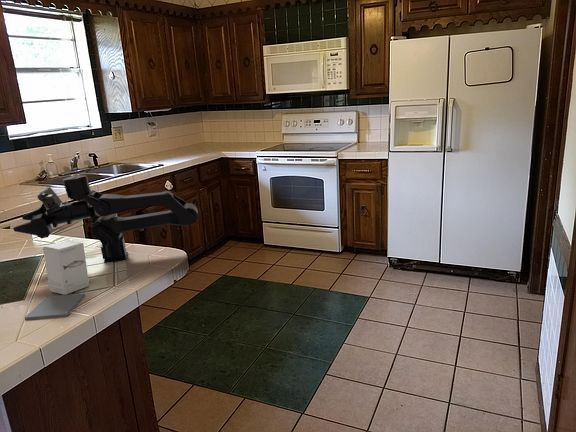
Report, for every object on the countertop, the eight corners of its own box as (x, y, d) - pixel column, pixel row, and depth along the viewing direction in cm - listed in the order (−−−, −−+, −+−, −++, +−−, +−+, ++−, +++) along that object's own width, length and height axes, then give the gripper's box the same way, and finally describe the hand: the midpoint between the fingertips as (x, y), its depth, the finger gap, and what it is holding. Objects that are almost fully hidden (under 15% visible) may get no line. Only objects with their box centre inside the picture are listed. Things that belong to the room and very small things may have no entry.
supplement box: (65, 295, 115) (57, 249, 112) (49, 291, 119) (41, 246, 116) (90, 286, 121) (83, 242, 118) (74, 282, 125) (67, 239, 122)
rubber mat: (47, 298, 116) (46, 296, 116) (85, 295, 116) (85, 293, 116) (25, 319, 105) (24, 317, 105) (67, 316, 105) (66, 313, 105)
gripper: (69, 178, 140) (16, 189, 137) (57, 197, 123) (-3, 209, 120) (81, 210, 144) (30, 221, 141) (71, 232, 127) (13, 245, 124)
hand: (18, 223), depth 131 cm, fingers open, 9 cm apart
